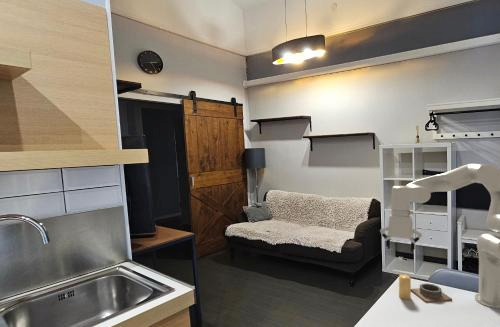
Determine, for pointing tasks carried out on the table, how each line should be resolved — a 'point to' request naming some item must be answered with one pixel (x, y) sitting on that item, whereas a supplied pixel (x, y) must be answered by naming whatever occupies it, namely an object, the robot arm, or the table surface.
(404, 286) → the pale yellow cylinder
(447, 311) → the table surface
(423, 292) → the mount plate
